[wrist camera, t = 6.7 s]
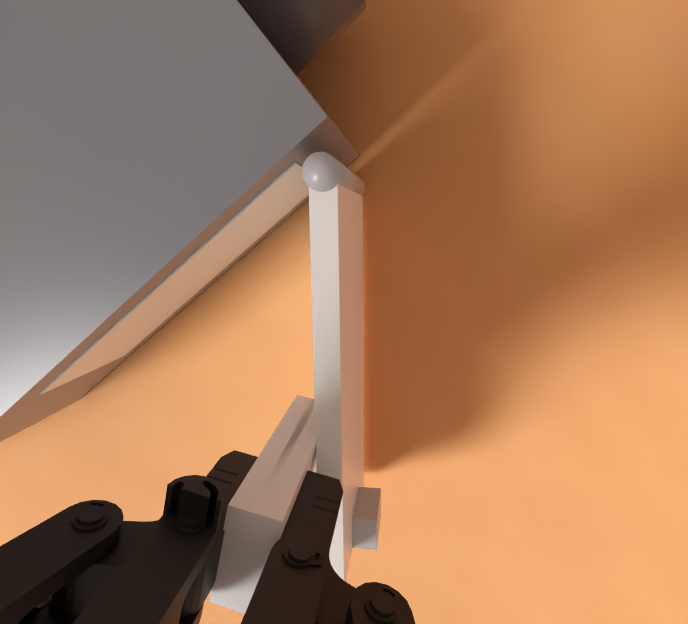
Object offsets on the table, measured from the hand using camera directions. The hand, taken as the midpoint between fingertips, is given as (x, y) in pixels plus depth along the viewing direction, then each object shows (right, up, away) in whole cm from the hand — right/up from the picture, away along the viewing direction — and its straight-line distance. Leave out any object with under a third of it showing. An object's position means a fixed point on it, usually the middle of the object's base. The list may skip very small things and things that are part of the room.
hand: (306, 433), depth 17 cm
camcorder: (-7, +10, +3) cm, 13 cm away
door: (+2, +3, +3) cm, 5 cm away
